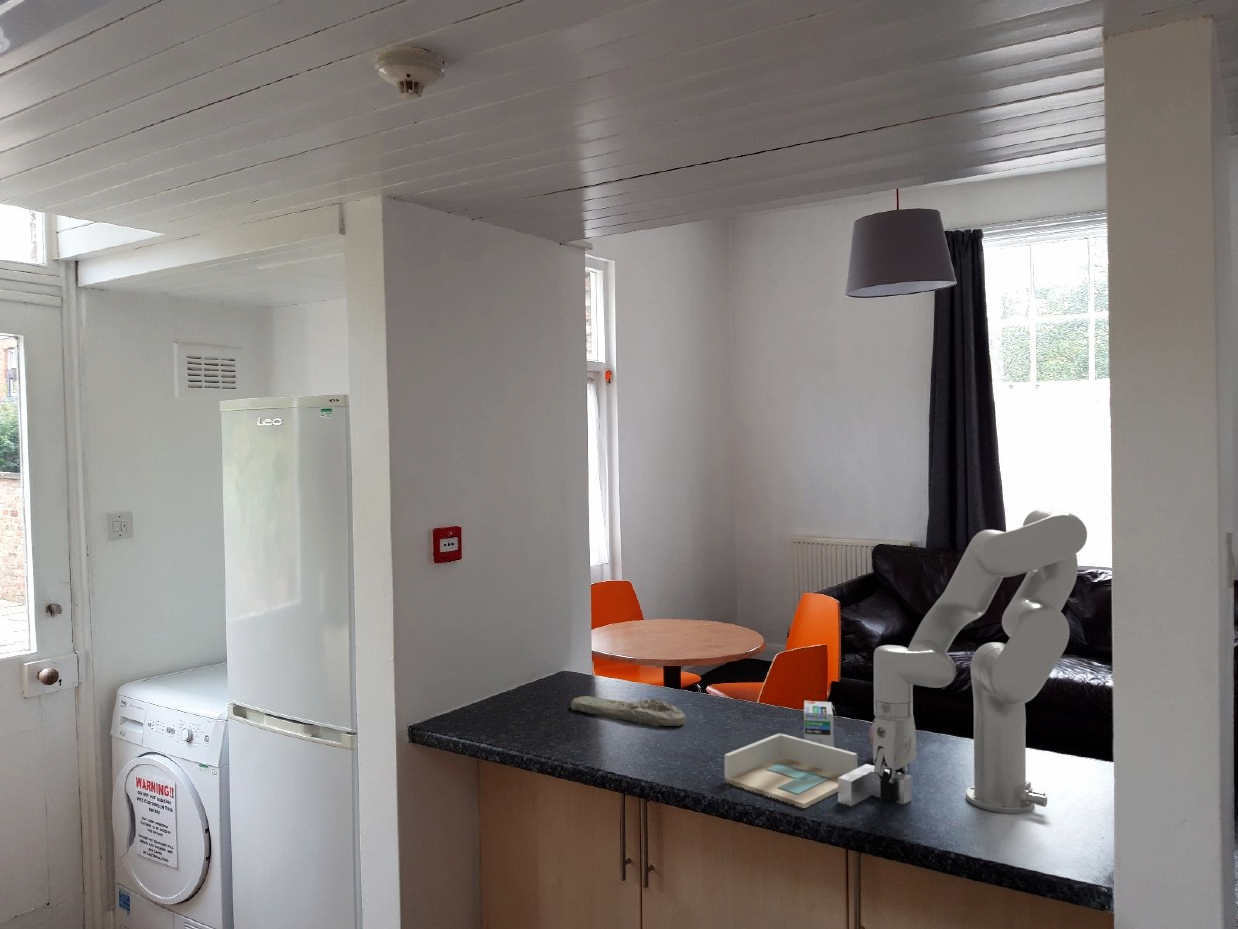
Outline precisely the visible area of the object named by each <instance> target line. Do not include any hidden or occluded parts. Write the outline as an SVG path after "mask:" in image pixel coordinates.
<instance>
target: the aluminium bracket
mask: <svg viewBox="0 0 1238 929" xmlns="http://www.w3.org/2000/svg"><path fill="white" fill-rule="evenodd" d="M874 768H875V765H871V764H869V763H865V764H863V765H861V766H859V767H857V769H855V770H853V771H851V772H849V773H847V774H845V775H843V776H841V777H839V778H838V792H837V802H839V803H838V804H842V805H845V804H847V805H846V806H848V805H849V806H848V807H851V806H852V805H853V806H855V805H857V804H859V803H861V802H863V801H864V800H866V799H868V798H869V797H870V798H871V797H872V796H873V795H874V796H873V797H877V798H879V797H880V780H879V776H878V775H877V774H876V773H874ZM885 771H886V772H888V773H889V774H890V770H887V769H885ZM894 783H896V802H895V803H896V804H901V805H903V804H904V805H906V804H907V803H909V801H910V802H911V801H912V776H911V775H909V774H908V775H906V774H902V773H898V772H895V778H894ZM871 795H872V796H871ZM867 797H868V798H867ZM865 798H866V799H865ZM862 800H863V801H862ZM860 801H861V802H860ZM858 802H859V803H858ZM854 804H855V805H854ZM853 806H852V807H853Z"/></svg>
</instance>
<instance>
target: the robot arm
mask: <svg viewBox="0 0 1238 929" xmlns="http://www.w3.org/2000/svg"><path fill="white" fill-rule="evenodd" d="M1087 538H1088V531H1087V527H1086V525H1085V524H1084V522H1083V521H1082V520H1081V519H1080V518H1079V517H1078V516H1077V515H1076V514H1075V515H1074V514H1073V513H1070V512H1067V511H1061V510H1055V509H1051V508H1039V509H1036V510H1033V511H1031V512H1030V513H1029V514H1028V515H1027V516H1026V517H1025V519H1024V521H1023V523H1022V526H1020V527H1017V528H1014V529H1011V530H1010V529H1009V530H1007V531H1002V530H996V529H983V530H981V531H979V532H977V533H976V534H975V535H974V536H973V537H972V538H971V541H970V542H969V543H968V546H967V547H966V549H965V551H964V553H963V555H962V557H961V559H960V561H959V563H958V565H957V567H956V569H955V571H954V573H953V575H952V577H951V578H950V580H949V582H948V584H947V586H946V588H945V590H944V592H942V594H941V596H940V597H939V598H938V599H937V600H936V601H935V603H934V605H932V607H931V608H930V609H929V610H928V612H927V613H926V614H925V616H924V617H923V619H922V620H921V622H920V624H919V625H918V627H917V629H916V631H915V632H914V635H913V637H912V638H911V641H910V644H909V645H908V647H905V646H903V645H895V644H885V645H880V646H878V647H876V648H875V649H874V652H873V715H874V719H875V721H874V722H873V724H874V732H873V745H872V759H873V760H872V761H873V763H874V766H875V768H874V773H876V774H877V775H878V776H879V780H880V797H881V798H880V799H881V800H882V801H886V802H889V803H892V804H895V803H896V783H894V778H895V772H898V773H902V774H906V775H909V769H908V768H909V765H910V764H911V763H913V762H914V761H916V759H917V757H918V756H917V750H918V749H917V734H916V724H915V718H914V713H913V711H914V708H913V707H914V704H913V703H914V702H913V701H914V699H913V698H914V696H913V694H914V693H913V692H914V691H913V689H914V685H915V686H919V687H920V686H921V687H927V688H935V689H937V688H939V689H940V688H944V687H947V686H948V685H950V684H951V683H952V682H953V681H954V680H955V678H956V674H957V668H956V664H955V662H954V660H953V659H952V657H951V656H950V654H948V653H947V652H948V651H949V649H950V647H951V645H952V643H953V642H954V639H955V638H956V636H957V635H958V634H959V632H960V631H961V630H962V629H963V628H964V627H965V626H966V625H968V624H970V623H971V622H973V621H976V620H978V619H980V617H982V616H983V615H984V614H986V612H987V610H988V608H989V606H990V604H991V603H992V601H993V598H994V597H995V595H996V593H997V591H998V589H999V587H1000V585H1001V583H1002V581H1003V579H1004V578H1008V577H1009V578H1010V577H1014V576H1019V575H1023V574H1025V577H1024V579H1023V581H1022V582H1021V584H1020V586H1018V589H1017V590H1016V592H1015V594H1014V596H1013V598H1012V599H1011V601H1010V602H1009V604H1008V605H1007V607H1006V608H1005V610H1004V612H1003V615H1002V618H1001V625H1002V629H1003V631H1004V633H1005V634H1006V635H1007V636H1008V637H1009V639H1008V641H1007V642H1006V643H1003V642H999V641H998V642H996V641H995V642H993V641H992V642H987V643H984V644H982V645H981V646H979V647H978V648H977V650H976V651H975V652H974V654H973V656H972V659H971V661H970V677H971V686H972V687H971V688H972V696H973V780H974V781H973V785H972V786H970V787H968V788H967V789H966V790H965V798H966V800H967V801H968V802H969V803H970V804H972V805H974V806H975V807H978V808H980V809H983V810H986V811H988V812H989V811H991V812H995V813H1000V814H1022V813H1027V812H1030V811H1032V810H1033V809H1034V808H1035V805H1037V806H1040V807H1043V808H1045V807H1047V805H1048V797H1047V796H1046V793H1045V792H1042V791H1038V790H1034V789H1033V787H1032V782H1031V781H1029V780H1026V778H1027V777H1026V771H1027V770H1026V766H1027V765H1026V764H1027V763H1026V758H1027V757H1026V756H1027V755H1026V754H1027V752H1026V750H1027V749H1026V726H1027V725H1026V723H1027V718H1026V705H1025V704H1026V703H1028V702H1030V701H1032V700H1033V699H1034V698H1035V697H1036V696H1037V695H1038V693H1039V692H1040V691H1041V689H1042V688H1043V687H1044V685H1045V684H1046V682H1047V680H1049V679H1048V678H1049V677H1050V675H1051V673H1052V672H1053V670H1054V669H1055V667H1056V666H1057V664H1058V661H1060V660H1061V657H1062V655H1063V654H1064V652H1065V650H1066V648H1067V646H1068V644H1069V643H1068V642H1069V638H1070V625H1069V622H1068V619H1067V618H1066V615H1064V613H1063V612H1061V611H1062V610H1063V608H1064V606H1065V604H1066V603H1067V600H1068V598H1069V597H1070V594H1071V593H1072V591H1073V589H1074V586H1075V585H1076V582H1077V576H1078V571H1079V566H1078V557H1077V553H1079V552H1080V551H1081V550H1082V549H1083V548H1084V547H1085V545H1086V543H1087ZM885 769H887V770H890V774H889V773H888V772H886V771H885Z"/></svg>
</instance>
